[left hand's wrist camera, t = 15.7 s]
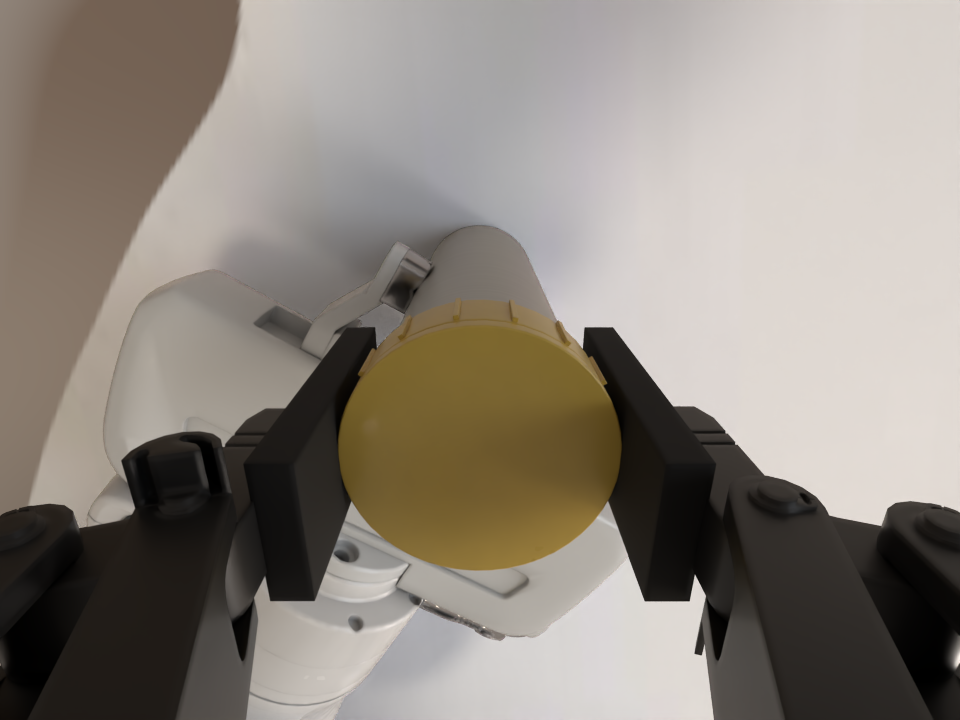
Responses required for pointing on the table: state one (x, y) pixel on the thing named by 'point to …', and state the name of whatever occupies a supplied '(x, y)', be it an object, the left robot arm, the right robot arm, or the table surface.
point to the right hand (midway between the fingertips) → (491, 299)
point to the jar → (480, 273)
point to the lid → (479, 437)
